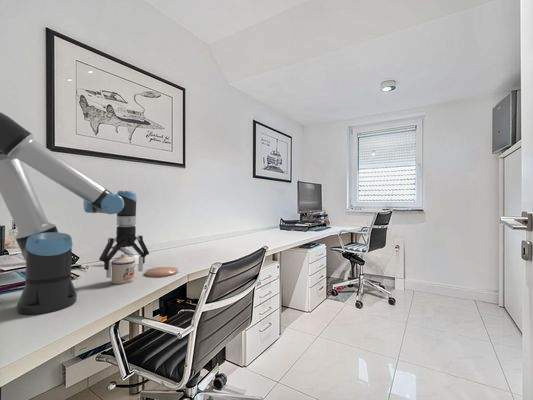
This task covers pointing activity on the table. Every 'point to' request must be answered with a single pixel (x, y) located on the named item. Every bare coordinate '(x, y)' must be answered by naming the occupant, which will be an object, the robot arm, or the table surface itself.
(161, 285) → the table surface
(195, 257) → the table surface
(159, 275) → the dish
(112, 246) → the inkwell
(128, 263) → the teacup with lid
